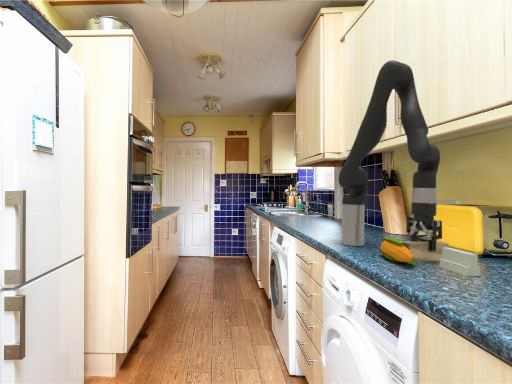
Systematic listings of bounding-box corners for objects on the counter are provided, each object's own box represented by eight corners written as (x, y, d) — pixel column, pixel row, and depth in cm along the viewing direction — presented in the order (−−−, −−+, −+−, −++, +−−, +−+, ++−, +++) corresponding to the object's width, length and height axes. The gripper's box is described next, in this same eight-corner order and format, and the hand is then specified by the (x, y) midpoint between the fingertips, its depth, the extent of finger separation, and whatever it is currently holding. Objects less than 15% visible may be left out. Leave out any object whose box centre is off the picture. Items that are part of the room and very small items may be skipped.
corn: (396, 234, 108) (424, 244, 88) (397, 254, 108) (425, 269, 88) (375, 234, 108) (399, 245, 88) (376, 255, 108) (400, 270, 88)
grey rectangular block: (439, 266, 92) (439, 247, 92) (451, 266, 92) (451, 247, 92) (467, 276, 82) (467, 254, 82) (479, 276, 82) (480, 254, 82)
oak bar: (402, 258, 103) (402, 241, 103) (439, 258, 104) (440, 241, 104) (409, 261, 99) (409, 243, 99) (448, 261, 100) (448, 243, 100)
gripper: (400, 200, 108) (399, 244, 108) (429, 202, 94) (427, 253, 94) (419, 200, 109) (418, 244, 109) (450, 202, 95) (448, 253, 95)
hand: (422, 248), depth 102 cm, fingers open, 8 cm apart
